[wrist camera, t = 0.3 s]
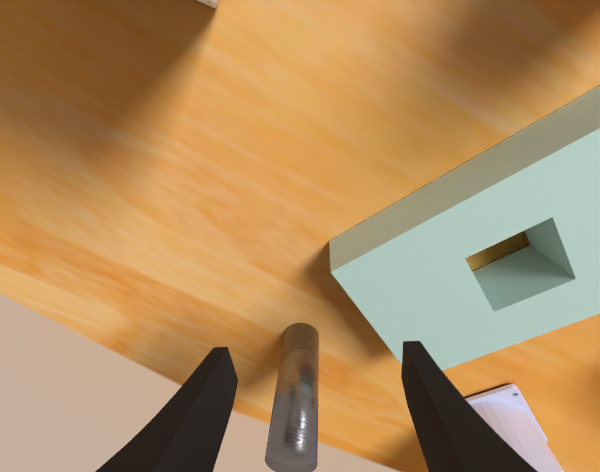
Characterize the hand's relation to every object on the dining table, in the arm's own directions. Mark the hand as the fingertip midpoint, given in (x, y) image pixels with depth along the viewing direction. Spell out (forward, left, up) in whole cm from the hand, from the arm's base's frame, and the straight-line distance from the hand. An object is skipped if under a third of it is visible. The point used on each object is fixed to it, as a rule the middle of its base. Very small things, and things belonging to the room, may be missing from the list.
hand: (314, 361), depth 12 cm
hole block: (-6, -10, -10) cm, 15 cm away
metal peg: (-7, +6, -10) cm, 14 cm away
